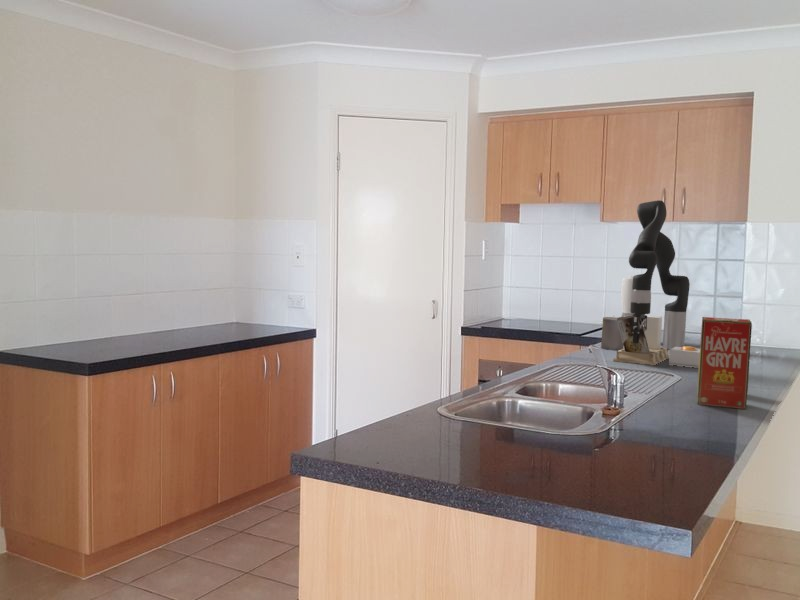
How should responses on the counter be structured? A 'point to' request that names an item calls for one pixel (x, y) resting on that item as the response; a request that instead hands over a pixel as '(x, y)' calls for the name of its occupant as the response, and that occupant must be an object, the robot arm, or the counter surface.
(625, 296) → the blender
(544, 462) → the counter surface
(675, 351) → the console
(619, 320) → the coffee box
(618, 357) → the pallet
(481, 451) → the counter surface
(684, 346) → the button
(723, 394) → the food packaging
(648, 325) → the carton
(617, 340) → the pillar candle
